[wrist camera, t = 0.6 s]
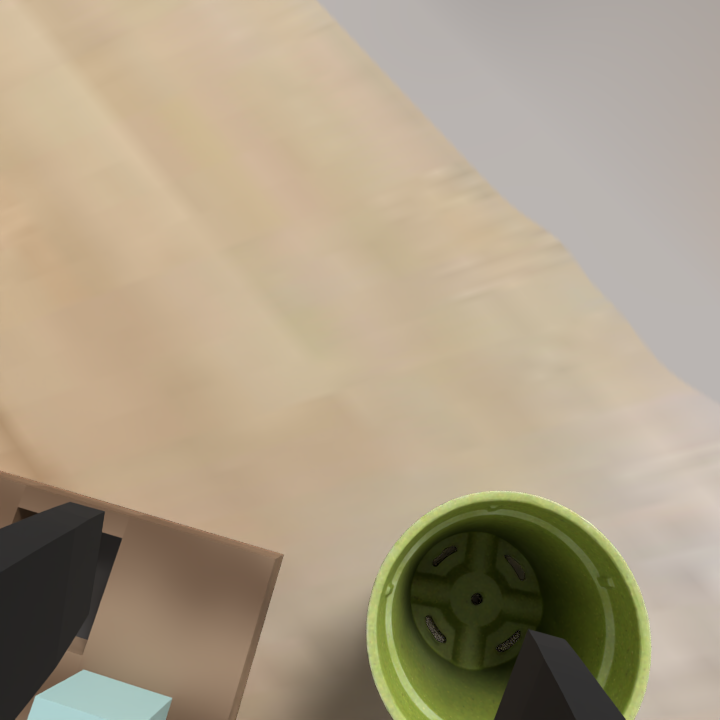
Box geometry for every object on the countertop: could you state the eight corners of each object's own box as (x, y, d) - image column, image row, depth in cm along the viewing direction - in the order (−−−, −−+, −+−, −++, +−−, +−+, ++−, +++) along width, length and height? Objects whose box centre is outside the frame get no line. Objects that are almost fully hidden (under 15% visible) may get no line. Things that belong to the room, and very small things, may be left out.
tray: (165, 960, 28) (124, 1045, 23) (-175, 838, 29) (-273, 897, 25) (283, 554, 31) (267, 562, 27) (-27, 462, 33) (-90, 456, 28)
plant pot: (461, 757, 29) (494, 859, 21) (330, 580, 31) (310, 608, 22) (619, 617, 30) (712, 661, 22) (484, 454, 32) (520, 435, 24)
